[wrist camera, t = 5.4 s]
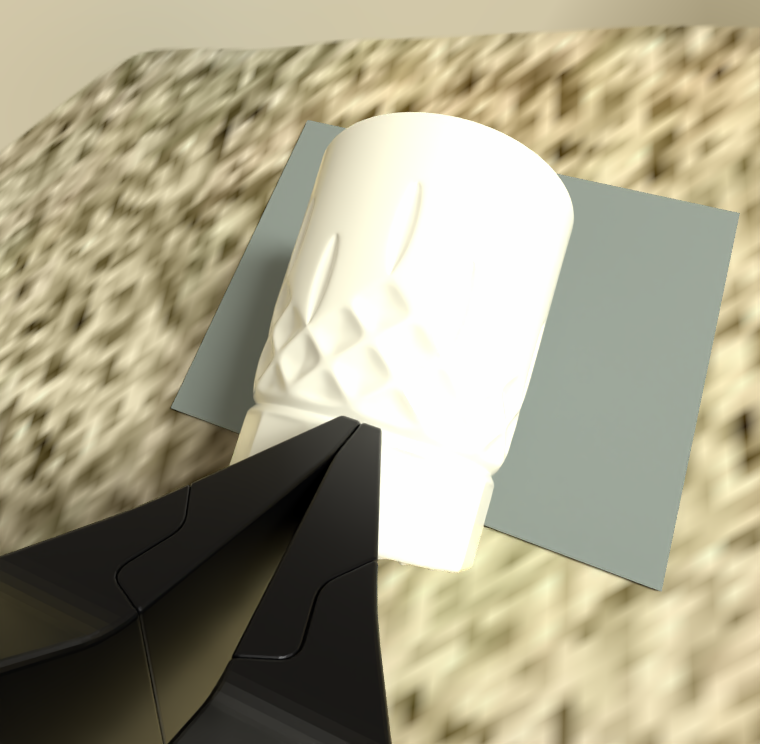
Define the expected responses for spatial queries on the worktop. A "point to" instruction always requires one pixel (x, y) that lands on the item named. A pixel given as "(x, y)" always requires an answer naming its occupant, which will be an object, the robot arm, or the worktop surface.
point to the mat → (546, 365)
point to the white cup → (417, 317)
